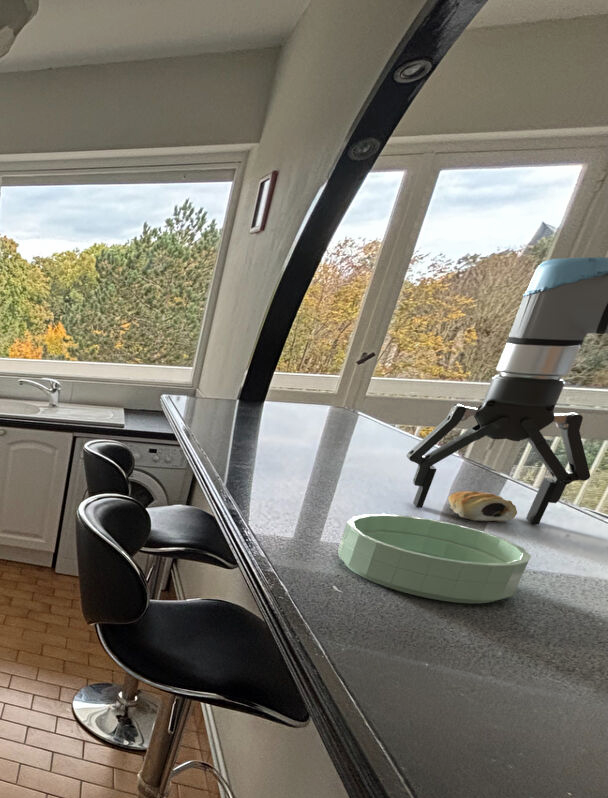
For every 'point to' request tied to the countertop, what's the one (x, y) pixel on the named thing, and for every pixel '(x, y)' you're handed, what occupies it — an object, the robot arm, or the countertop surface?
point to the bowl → (432, 558)
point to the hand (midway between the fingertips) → (472, 513)
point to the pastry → (482, 506)
